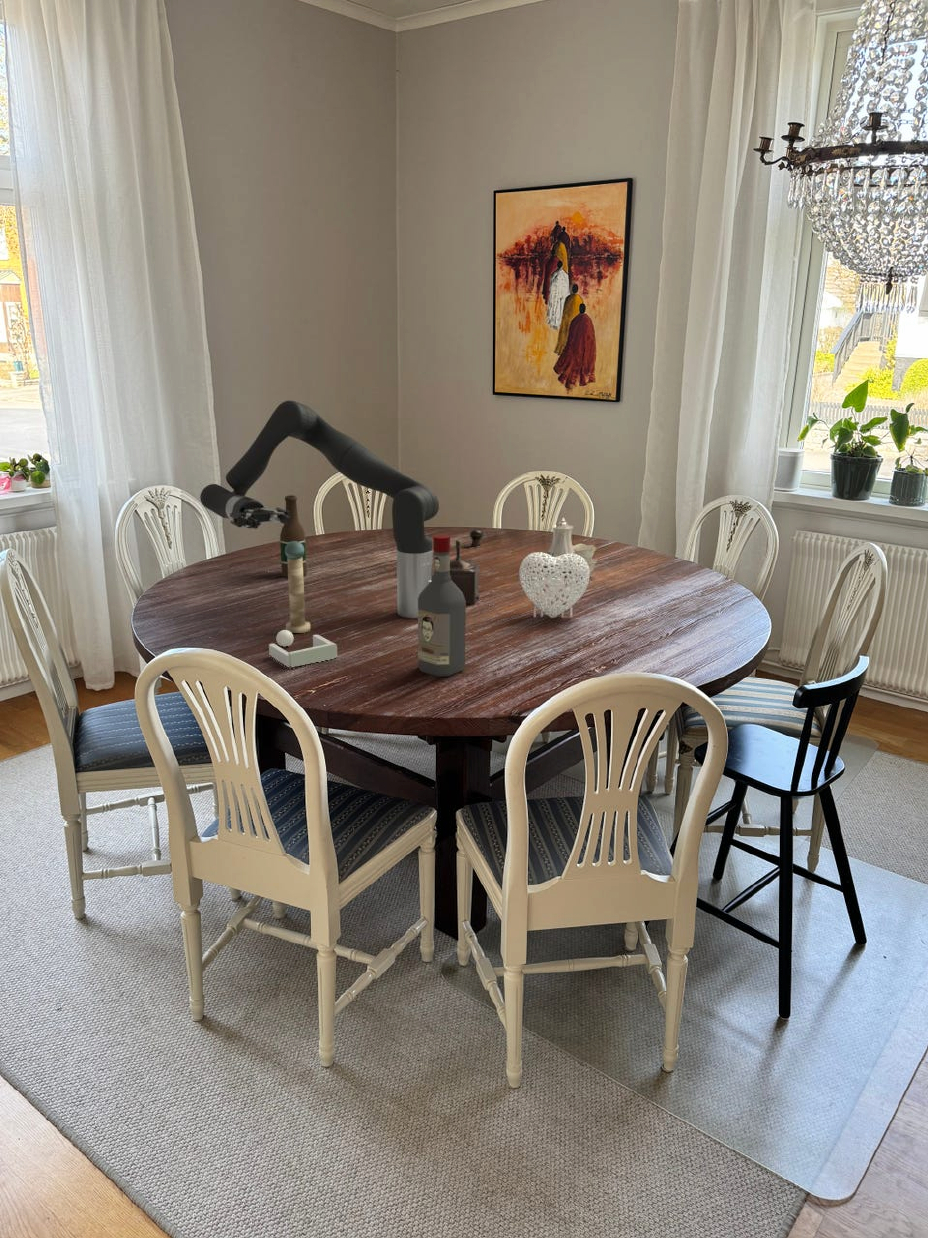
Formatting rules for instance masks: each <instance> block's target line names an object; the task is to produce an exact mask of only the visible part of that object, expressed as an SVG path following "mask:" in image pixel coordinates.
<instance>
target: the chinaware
mask: <svg viewBox="0 0 928 1238" xmlns="http://www.w3.org/2000/svg"><path fill="white" fill-rule="evenodd" d="M551 527H552V532H553V535H552V540H551V541H552V542H551V545H550V546H549V550H548V551H547V552H546V554H549V555H550V556H552V557H558V556H561V555H564V554H577V555H579V556H581V557H582V558H584V560H585V561H586V562H587V564H588V566H589V571H590V574H592V572H593V570H594V568H595V565H596V564H597V563H598V560H597V559H593V555H594V554H595V551H597V548H596V546H595V545H594V544H590V545H589V544H588V545H586V544H585V543H577V544H575V545H573V543H572V532H573V528H574V526H573V525H571V524H570V525H569V522H567V521H566V519H565V517H562V518H561V519H560V521H559V522H557V523H556V524H554V525H551ZM568 557H569V556H568ZM572 557H573V556H572ZM570 559H571V558H568V560H570ZM542 560H545V559H542ZM578 561H579V560H578ZM546 562H547V563H548V561H546ZM563 562H566V561H563ZM575 562H576V561H575ZM556 563H557V562H556ZM569 563H571V561H569ZM573 564H575V563H573ZM577 564H578V565H579V563H577ZM581 564H582V563H581ZM565 565H567V564H565ZM555 566H558V565H555ZM570 566H572V565H570ZM574 566H576V565H574ZM551 567H553V565H551ZM573 568H574V567H573ZM559 569H561V568H559ZM564 569H566V568H564ZM578 569H579V568H578ZM569 570H570V569H569ZM551 571H552V570H551ZM576 571H577V569H576ZM581 571H582V570H581ZM570 572H571V571H569V572H568V573H570ZM578 572H579V571H578ZM563 573H566V571H564V572H563ZM574 575H575V574H574ZM576 576H577V574H576ZM579 576H580V575H579ZM584 578H585V577H584ZM581 579H582V577H581Z"/></svg>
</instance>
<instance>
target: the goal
mask: <svg viewBox="0 0 928 1238" xmlns="http://www.w3.org/2000/svg"><path fill="white" fill-rule="evenodd" d="M268 654H269V655H271V656H272V657H274V658H275V659H277V660H278V661H280V662H281V663H283V664H284V665H286V666H287V667H289V666H291V667H295V666H300V665H305V664H310V663H315V662H319V663H322V662H321V661H324V662H326V661H325V660H328V661H331V660H330V659H333V660H335V659H334V658H336V657H337V658H338V645H337V644H336V643H334V642H332V641H330V640H328V639H326V638H325V637H323V636H321V635H319V634H313V635H312V647H307V648H303V649H298V650H293V651H287V650H285V649H284V648H282V647H281V646H280V645H279V646H278V644H275V643H270V644H268ZM337 658H336V659H337ZM315 664H316V663H315Z"/></svg>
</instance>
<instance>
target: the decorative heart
mask: <svg viewBox="0 0 928 1238" xmlns="http://www.w3.org/2000/svg"><path fill="white" fill-rule="evenodd" d="M568 556H569V557H568ZM572 556H573V557H572ZM568 558H571V559H570V560H568ZM543 559H545V560H543ZM578 560H579V561H578ZM546 561H548V563H547V562H546ZM563 561H566V562H563ZM569 561H571V563H569ZM575 561H576V562H575ZM556 562H557V563H556ZM520 563H521V564H520V566H519V571H518V573H519V583H520V585H521V588H522V590H523V592H524V594H525V595H526V596H527V598H528V599H529V600H530V602H531V603H533V605H534V606H533V607H534V608H533V618H537V609H538V610H539V611H541V612H540V617H541V618H543V617H544V614H545V615H547V616H548V617H550V619H555V618H557V616H560V615H561V618H563V619H564V618H565V611H567V610H569V609H570V611H569V618H570V619H572V618H573V609H574V608H573V606H574V605H575V604H576V603H577V602H578V601H579V600H580V599H581V597H582V596H583V595H584V593H585V592H586V590H587V588H588V585H589V582H590V577H591V576H590V574H591V573H590V571H589V566H588V564H587V562H586V561H585V560H584V558H582V557H581V556H579V555H577V554H564V555H561V556H558V557H552V556H550V555H549V554H547V552H546V553H545V552H541V551H540V552H531V553H530V554H527V556H525V557H524V559H523V560H522V561H521V562H520ZM573 563H575V564H573ZM577 563H579V565H578V564H577ZM581 563H582V564H581ZM565 564H567V565H565ZM551 565H553V567H551ZM555 565H558V566H555ZM570 565H572V566H570ZM574 565H576V566H574ZM573 567H574V568H573ZM559 568H561V569H559ZM564 568H566V569H564ZM578 568H579V569H578ZM569 569H570V570H569ZM576 569H577V571H576ZM551 570H552V571H551ZM581 570H582V571H581ZM564 571H566V572H564ZM569 571H571V573H570V572H569ZM578 571H579V572H578ZM574 574H575V575H574ZM576 574H577V576H576ZM579 575H580V576H579ZM565 577H566V578H565ZM581 577H582V578H581ZM584 577H585V578H584ZM566 585H567V586H566ZM544 590H545V591H544ZM560 590H561V591H560ZM559 591H560V592H559ZM564 603H565V604H564Z"/></svg>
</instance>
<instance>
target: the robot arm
mask: <svg viewBox="0 0 928 1238" xmlns="http://www.w3.org/2000/svg"><path fill="white" fill-rule="evenodd" d="M288 437H289V438H292V439H296V440H300V441H302V442H303V443H306V444H307V445H309V446H311V447H312V448H314V449H316V450H317V451H319V452H320V453H321V454H323V456H324V457H325V458H326V460H327V461H328V462H329V464H330V465H331V466H332V467H333V468H334V469H335V470H337V471H338V472H339V473H340V474H341V475H343V476H344V477H346V478H347V479H349V480H350V481H352V482H353V483H355V484H357V485H359V486H361V487H364V488H367V489H370V490H373V491H376V492H379V493H382V494H384V495H385V496H386V495H387V496H389V497H390V498H392V499H393V500H392V503H391V504H392V505H391V516H392V517H391V519H392V521H391V522H392V532H393V533H392V535H393V538H394V541H395V543H396V580H397V581H396V584H397V587H396V588H397V589H396V592H397V595H396V597H397V614H398V616H400V617H403V618H406V619H407V618H408V619H418V597H419V594H420V593H421V592H422V591H423V590H424V588H425V587H426V586H427V585H428V584H429V583H430V582H431V581H432V580H433V575H434V551H433V539H432V538H431V537H430V536H427V535H426V532H425V522H427V521H429V520H431V519H433V518H434V517H436V515H437V514H438V512H439V509H440V502H439V500H438V497H437V494H436V493H435V492H434V491H433V490H432V489H431V488H429V486H427V485H425V484H424V483H421V482H419V481H418V480H416V479H414V478H411V477H410V476H408V475H407V474H405V473H403V472H401V471H399V469H397V468H396V467H394V466H393V465H391V463H389V462H387V461H385V460H384V459H383V458H381V457H380V456H378V455H377V454H376V453H374V452H373V451H372V450H371V449H368V448H367V447H366V446H365V445H364V444H362V443H360V442H359V441H358V440H356V439H354V438H352V437H350V436H349V435H347V434H345V433H343V432H341V431H339V430H338V429H336V428H335V427H333V426H332V425H331V424H330V423H328V422H327V421H326V420H325V419H324V418H323V417H322V416H320V415H319V413H317V412H316V411H315V410H313V408H311V407H310V406H308V405H306V404H303V403H301V402H298V401H295V400H285V401H283V402H281V403H280V404H279V405H278V406H277V407H276V408H275V410H273V413H272V414H271V416H270V417H269V418H268V420H267V422H266V423H265V424H264V426H263V427H262V430H261V431H260V433H259V434H258V436H257V437H256V439H255V440H254V441H253V443H251V446H250V447H249V448H248V450H247V451H246V452H245V453H244V454H243V455H242V457H241V458H240V459H238V461H237V462H236V463H235V464H234V465H233V466H232V467H231V469H230V470H229V471H228V472H227V474H226V475H225V481H226V483H227V484H228V485H229V486H230V487H231V488H232V491H230V490H229V489H226V488H225V487H223V486H221V485H220V484H216V483H211V484H210V483H209V484H208V485H206V486H205V487H203V489H202V490H201V492H200V499H199V500H200V502H201V504H202V506H203V507H205V508H206V509H208V510H209V511H211V512H212V513H214V514H215V515H218V516H220V517H221V518H224V519H228V520H230V524H232V525H233V526H235V527H237V528H242V527H244V528H247V529H256V530H257V529H259V526H261V525H262V524H263V525H265V524H272V525H273V524H277V523H281V524H283V525H284V524H286V525H289V523H290V517H289V511H287V510H286V509H284V508H281V507H276V508H275V509H272V508H266V507H265V506H264V505H263V504H262V503H261V502H260V501H259V500H256V499H254V498H251V497H249V496H246V495H247V493H248V491H249V489H250V488H252V486H253V485H254V484H255V483H257V481H258V480H259V479H260V478H261V477H262V475H263V474H264V472H265V471H266V469H267V467H268V464H269V462H270V460H271V457H272V455H273V453H274V451H275V450H276V449H277V447H278V446H279V445H280V444H281V443H282V442H283V441H285V440H286V439H287V438H288Z"/></svg>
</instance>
